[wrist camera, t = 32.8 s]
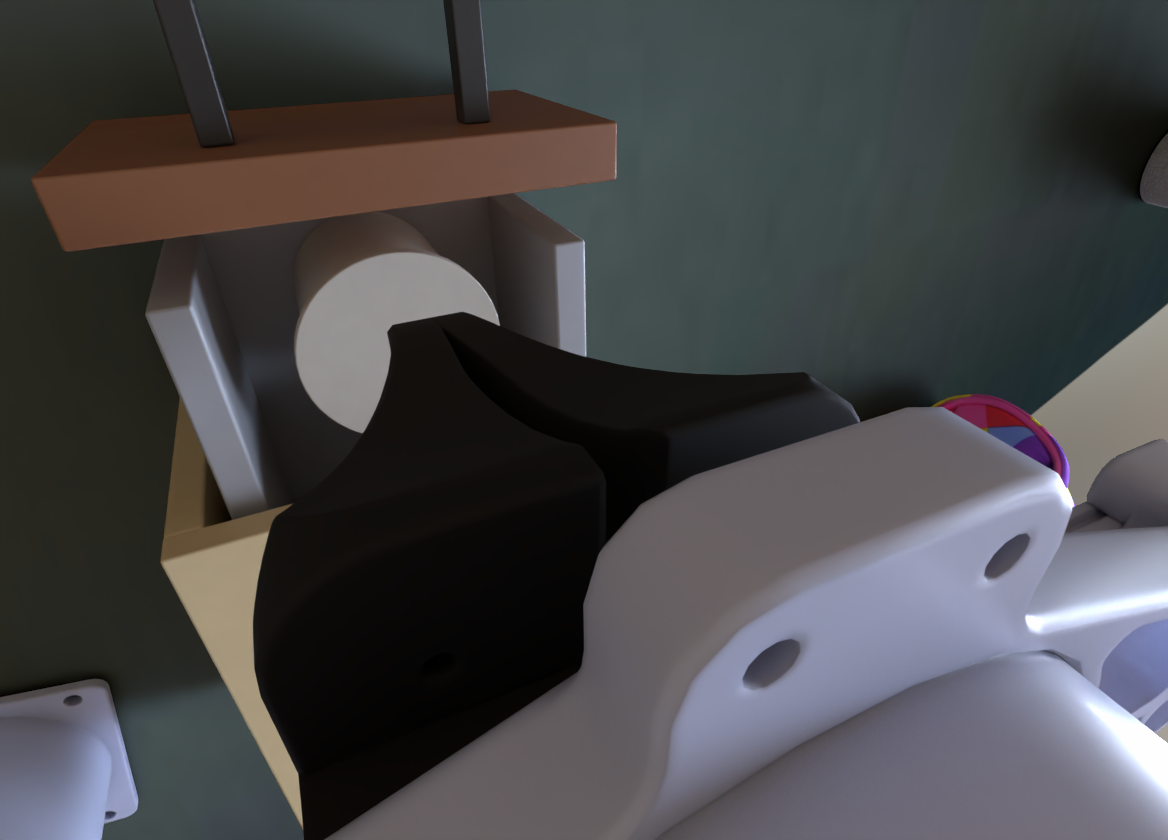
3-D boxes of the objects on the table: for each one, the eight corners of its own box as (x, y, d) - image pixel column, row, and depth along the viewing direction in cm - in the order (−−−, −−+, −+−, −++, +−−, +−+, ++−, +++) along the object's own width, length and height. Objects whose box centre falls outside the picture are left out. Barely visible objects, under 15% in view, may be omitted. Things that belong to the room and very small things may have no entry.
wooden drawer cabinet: (180, 383, 19) (159, 562, 13) (538, 311, 23) (649, 423, 17) (297, 664, 27) (319, 861, 21) (553, 573, 31) (635, 716, 25)
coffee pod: (284, 357, 18) (298, 446, 15) (275, 190, 16) (290, 246, 13) (443, 353, 20) (490, 431, 17) (455, 205, 18) (512, 257, 15)
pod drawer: (-23, -163, 12) (-184, -268, 7) (501, -135, 16) (621, -193, 11) (253, 523, 22) (261, 670, 17) (539, 444, 25) (612, 547, 21)
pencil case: (829, 481, 37) (966, 591, 30) (948, 359, 36) (1118, 444, 29) (931, 590, 51) (1040, 682, 44) (1019, 505, 50) (1145, 585, 43)
